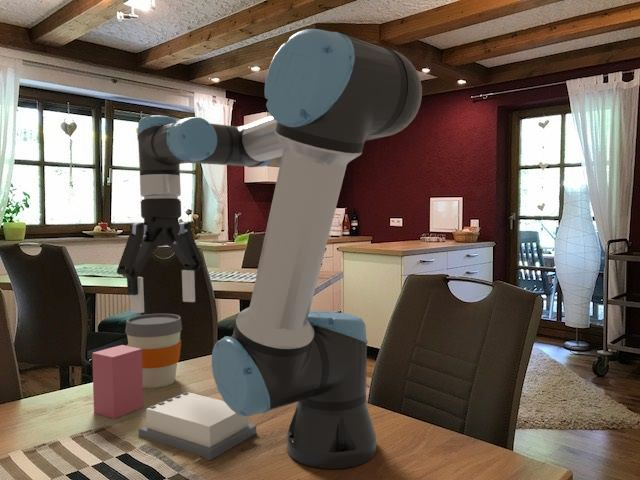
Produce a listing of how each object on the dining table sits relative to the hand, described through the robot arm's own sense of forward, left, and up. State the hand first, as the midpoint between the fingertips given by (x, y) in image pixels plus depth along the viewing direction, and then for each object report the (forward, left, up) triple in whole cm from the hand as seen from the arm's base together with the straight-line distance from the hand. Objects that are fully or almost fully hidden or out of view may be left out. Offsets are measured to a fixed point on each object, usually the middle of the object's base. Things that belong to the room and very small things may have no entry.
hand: (164, 306), depth 105 cm
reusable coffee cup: (+16, -12, -22) cm, 29 cm away
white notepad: (-13, +4, -21) cm, 25 cm away
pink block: (+9, +4, -21) cm, 23 cm away
